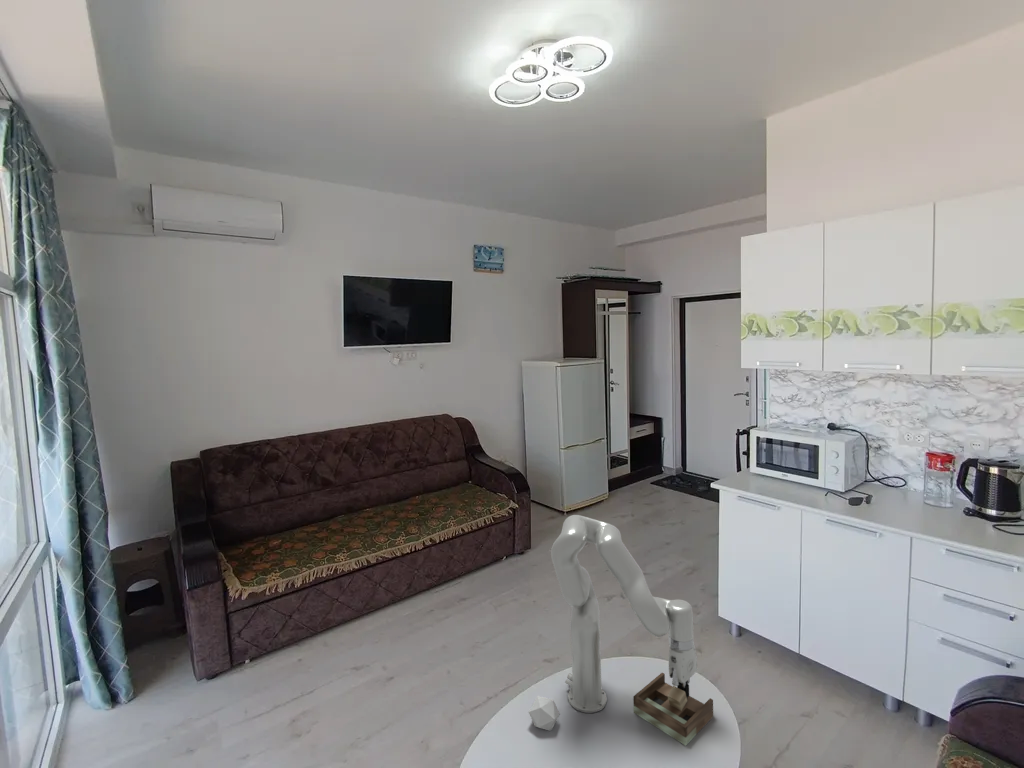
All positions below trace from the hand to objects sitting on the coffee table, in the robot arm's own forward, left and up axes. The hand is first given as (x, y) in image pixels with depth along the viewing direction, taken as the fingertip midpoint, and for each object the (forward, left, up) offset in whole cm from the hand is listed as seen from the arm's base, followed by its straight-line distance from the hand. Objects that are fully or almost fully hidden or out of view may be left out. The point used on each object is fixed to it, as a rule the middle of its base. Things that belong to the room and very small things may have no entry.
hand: (683, 695), depth 158 cm
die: (-26, -37, -4) cm, 46 cm away
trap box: (-1, -5, -4) cm, 7 cm away
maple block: (0, -3, -1) cm, 3 cm away
